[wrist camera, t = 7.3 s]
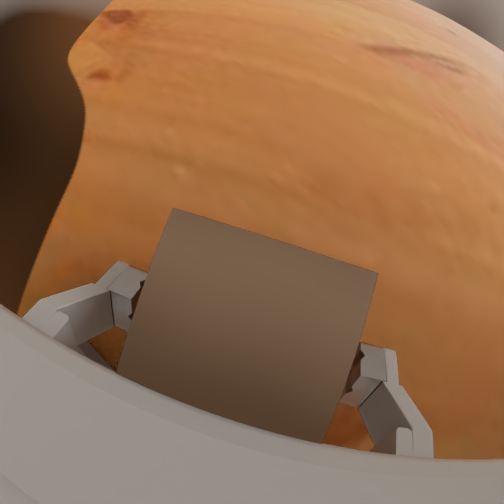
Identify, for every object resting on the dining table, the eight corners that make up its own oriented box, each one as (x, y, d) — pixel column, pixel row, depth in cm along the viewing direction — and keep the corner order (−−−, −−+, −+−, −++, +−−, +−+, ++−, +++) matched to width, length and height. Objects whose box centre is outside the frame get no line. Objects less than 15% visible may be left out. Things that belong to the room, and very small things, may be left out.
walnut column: (220, 270, 17) (173, 207, 7) (310, 299, 17) (378, 273, 7) (190, 359, 16) (107, 404, 6) (280, 388, 16) (308, 473, 6)
